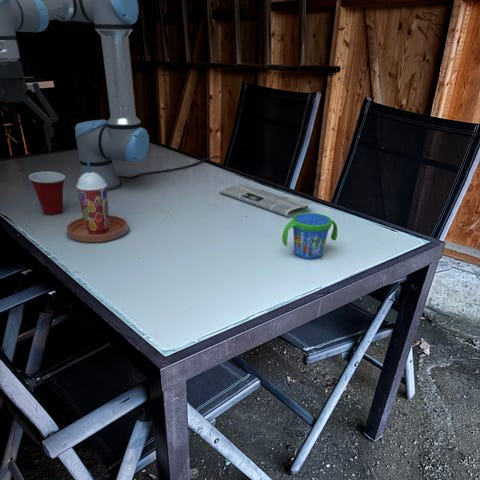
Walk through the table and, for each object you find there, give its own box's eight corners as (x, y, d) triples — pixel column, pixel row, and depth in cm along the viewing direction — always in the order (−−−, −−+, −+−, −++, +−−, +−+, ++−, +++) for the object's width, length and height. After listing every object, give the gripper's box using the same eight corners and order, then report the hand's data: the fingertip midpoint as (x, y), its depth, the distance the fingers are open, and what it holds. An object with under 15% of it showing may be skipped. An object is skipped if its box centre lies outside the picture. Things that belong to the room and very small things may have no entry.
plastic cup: (60, 219, 150) (53, 181, 144) (29, 216, 152) (21, 178, 146) (77, 208, 159) (71, 172, 153) (47, 205, 161) (40, 169, 155)
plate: (102, 218, 152) (101, 211, 151) (139, 230, 143) (139, 223, 142) (56, 233, 140) (54, 226, 139) (93, 248, 131) (92, 240, 130)
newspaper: (219, 193, 176) (219, 184, 174) (244, 187, 183) (244, 178, 182) (290, 219, 154) (291, 208, 152) (314, 211, 162) (315, 200, 160)
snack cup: (327, 244, 137) (331, 210, 131) (342, 259, 128) (347, 223, 123) (275, 248, 133) (277, 213, 128) (287, 264, 125) (289, 227, 119)
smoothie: (118, 228, 143) (110, 160, 133) (100, 238, 137) (90, 167, 126) (96, 224, 146) (86, 157, 136) (77, 233, 140) (65, 163, 129)
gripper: (-57, 60, 109) (-32, 156, 120) (57, 61, 115) (71, 152, 126) (-50, 58, 115) (-26, 149, 126) (58, 59, 121) (72, 146, 132)
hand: (23, 151), depth 126 cm, fingers open, 13 cm apart
